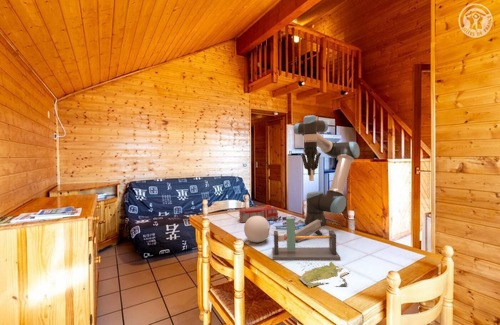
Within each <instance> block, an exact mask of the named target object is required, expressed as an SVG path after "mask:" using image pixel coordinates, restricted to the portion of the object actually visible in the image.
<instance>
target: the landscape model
mask: <svg viewBox="0 0 500 325" xmlns="http://www.w3.org/2000/svg"><path fill="white" fill-rule="evenodd" d="M343 270H344V267H339V266H338V265H336V264H335V263H334V262H332V261H330V262H329V264H327V265H322V266H318V267H314V268H312V269H310V270H307V271H304V272H303V274H302V275H301V276H298V280H300V281H301V282H302V283H303V284H304V285H306V286H307V288H308V289H309V288H310V289H312V288H314V287H316V286H320V285H324V284H325V285H327V284H328V282H325V281H324V282H322V283H321V282H320V281H322V280H328V279H329V280H330V279H331V278H335V277H336V278H337V277H338V276H339V279H341V280H342V282H344V283H340V285H338V286H337V285H336V287H348V282H346V278H343V276H346V275H347V274H350V273H351V270H349V269H348V270H347V271H348V272H346V271H345V272H343V273H341V272H342V271H343ZM338 273H340V274H338ZM341 280H339V282H341ZM318 281H319V282H318ZM308 282H309V283H308ZM311 287H312V288H311Z"/></svg>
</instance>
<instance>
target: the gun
mask: <svg viewBox="0 0 500 325" xmlns="http://www.w3.org/2000/svg"><path fill="white" fill-rule="evenodd" d="M324 227H325V226H324V220H323V219H320V220H315V221H313V222H312V223H310V224H308V225H305V226H302V227H301V228H299V229H297V230H295V236H312V235H313V234H316V236H324V235H323V232H321V231H320V230H321V229H323V228H324ZM303 240H304V239H295V243H300V242H302V241H303Z"/></svg>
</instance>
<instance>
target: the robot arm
mask: <svg viewBox="0 0 500 325" xmlns="http://www.w3.org/2000/svg"><path fill="white" fill-rule="evenodd" d="M328 129H329V123H328V122H327V121H325V120H324V119H323V120H322V119H321V120H320V119H317V116H316V115H314V114H313V115H305V116H304V117H303V122H298V123H295V124H294V126H293V132H294V134H295V135H299V136H300V135H302V136H303V141H304V142H303V148H304V150H303V152H302V153H300V157H301V158H302V163H303V166H304V169H305V170H307V176H308V180H309V182H313V181H314V179H315V178H314V176H315V172H316V171H315V170H317V169H318V167H319V163H320V157H321V155H322V153H321V152H323V153H324V154H326V156H329V157H331V158H335V159H338V161H337V165H336V167H335V171H334V174H333V177H332V181H331V185H330V187H329V188H330V189H327V191H326V193H324V191H323V190H321V191H319V190H318V191H309V192H307V193H306V197H305V199H306V215H305V218H304V225H305V226H306V225H308V224H310V223H312V222H313V221H315V220H320V219H323V220H324V226H323V227H326V226H327V225H328V224H327V219H326V216H325V213H331V214H337V215H338V214H341V213H342V212H344V210H345V209H346V206H347V199H346V197H345V195H344V191H345V186H346V182H347V180H348V175H349V172H350V168H351V165H352V163H354V162H355V159H358V158H359V157H360V154H361V153H360V152H361V150H360V146H359V144H358V143H357V142H356V141H346V142H345V141H342V142H341V141H339V142H332V141H331V140H328V139H326V138H325V137H324V136H323V135H321V133H325V132H327V131H328ZM317 148H319V149H320V151H321V152H319V151H318V150H317Z"/></svg>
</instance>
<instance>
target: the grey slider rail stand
mask: <svg viewBox="0 0 500 325" xmlns="http://www.w3.org/2000/svg"><path fill="white" fill-rule="evenodd" d="M295 239H303V240H305V239H306V240H307V239H314V240H315V239H317V240H319V239H321V240H322V239H324V240H325V239H328V244H329V245H328V247H321V246H319V247H307V246H306V247H295V250H287V247H279V242H283V243H284V242H285V241H286V242H287V233H285V234H284V233H279V231H278V230H273V245H274V246H273V247H272V251H271V252H272V261H341V256H340V255H339V253H338V251H337V233H336V232H335V231H334V230H330V229H329V230H328V235H321V236H318V235H310V236H295Z"/></svg>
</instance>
